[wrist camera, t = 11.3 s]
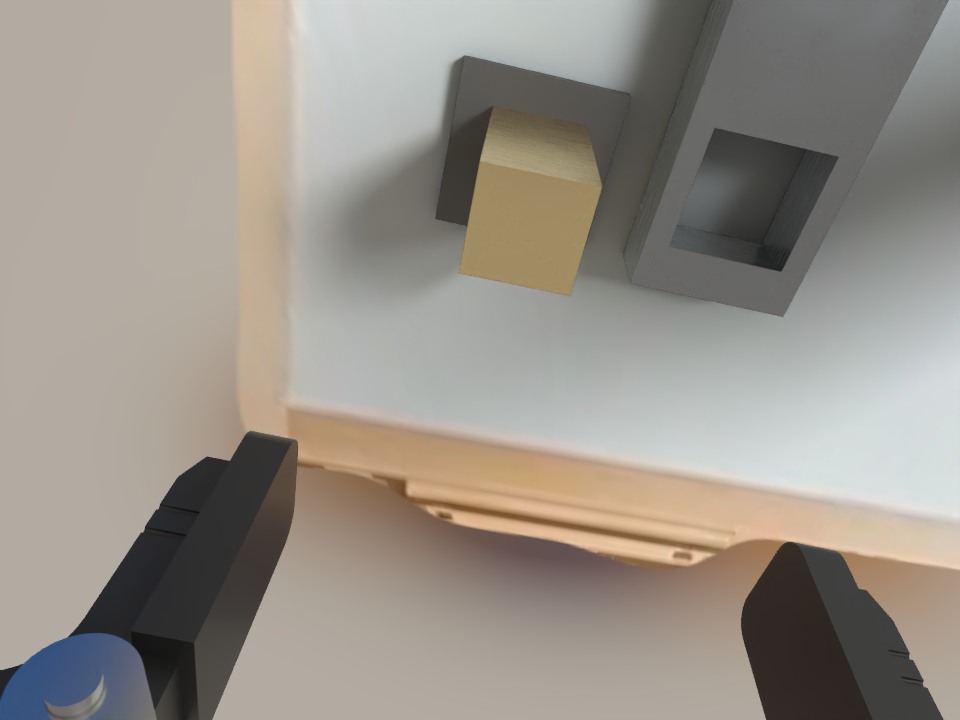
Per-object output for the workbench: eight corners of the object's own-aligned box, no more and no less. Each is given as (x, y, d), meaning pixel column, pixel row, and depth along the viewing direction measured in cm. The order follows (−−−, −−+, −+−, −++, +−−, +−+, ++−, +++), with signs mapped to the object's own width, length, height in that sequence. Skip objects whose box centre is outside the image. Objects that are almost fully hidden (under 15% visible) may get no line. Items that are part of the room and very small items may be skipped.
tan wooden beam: (586, 125, 28) (602, 186, 21) (562, 214, 30) (570, 295, 24) (493, 105, 28) (480, 160, 21) (476, 196, 30) (458, 273, 23)
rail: (1054, -306, 21) (1126, -339, 18) (763, 286, 32) (782, 316, 30) (840, -366, 20) (882, -406, 18) (622, 255, 32) (630, 283, 29)
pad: (629, 93, 28) (631, 96, 27) (582, 246, 32) (582, 251, 31) (465, 55, 28) (463, 57, 27) (437, 214, 31) (435, 218, 31)
